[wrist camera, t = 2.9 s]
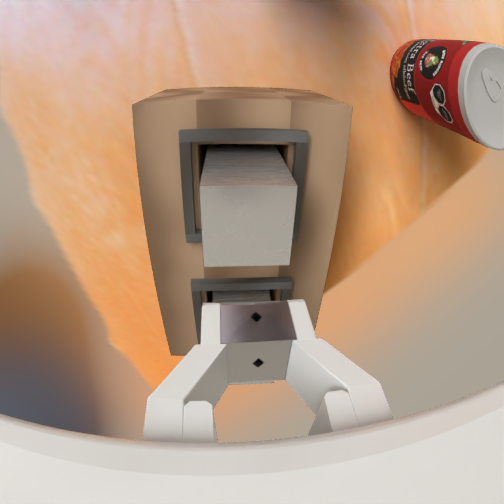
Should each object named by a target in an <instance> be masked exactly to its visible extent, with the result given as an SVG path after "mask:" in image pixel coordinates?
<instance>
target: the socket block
mask: <svg viewBox="0 0 504 504" xmlns="http://www.w3.org/2000/svg"><path fill="white" fill-rule="evenodd" d="M352 109H353V107H352V106H350V105H347V104H345V103H342V102H340V101H337V100H335V99H332V98H329V97H327V96H324V95H321V94H318V93H316V92H313V91H310V90H298V89H282V88H259V87H209V88H185V89H170V90H164V91H162V92H159V93H157V94H155V95H152V96H150V97H148V98H146V99H144V100H141V101H139V102H137V103H135V104H133V105H132V111H133V125H134V138H135V149H136V159H137V169H138V178H139V186H140V194H141V202H142V209H143V216H144V223H145V229H146V236H147V242H148V248H149V254H150V259H151V265H152V270H153V276H154V281H155V286H156V291H157V296H158V301H159V306H160V310H161V315H162V319H163V324H164V328H165V332H166V337H167V341H168V345H169V349H170V353H171V355H175V356H186V355H187V354H188V352H189V351H190V350H191V349H192V348H193V347H194V346H195V345H199V344H201V319H202V305H203V303H212V301H213V291H233V290H269V293H270V298H271V301H285V300H286V301H287V300H296V299H303V300H304V301H305V303H306V306H307V309H308V312H309V315H310V318H311V321H312V325H313V328H314V331H315V327H316V323H317V319H318V314H319V310H320V305H321V301H322V296H323V292H324V287H325V282H326V277H327V272H328V267H329V262H330V257H331V252H332V247H333V241H334V236H335V230H336V224H337V219H338V213H339V207H340V200H341V194H342V187H343V181H344V174H345V167H346V160H347V152H348V144H349V136H350V128H351V119H352ZM208 144H275V146H276V148H277V150H278V151H279V153H280V155H281V157H282V159H283V160H284V162H285V164H286V166H287V168H288V169H289V171H290V173H291V175H292V177H293V179H294V180H295V182H296V184H297V197H296V207H295V217H294V227H293V236H292V246H291V255H290V264H289V265H273V266H224V267H204V257H203V242H202V225H201V207H200V182H201V177H202V172H203V167H204V162H205V158H206V153H207V148H208Z"/></svg>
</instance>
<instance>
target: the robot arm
mask: <svg viewBox="0 0 504 504" xmlns="http://www.w3.org/2000/svg"><path fill="white" fill-rule="evenodd" d="M220 308H221V310H220ZM267 380H285V381H286V382H287V383H288V385H289V386H290V387H291V388H292V389H293V390H294V391H295V392H296V393H297V395H298V396H299V397H300V398H301V399H302V400H303V401H304V402H305V403H306V404H307V405H308V407H309V408H310V409H311V410H312V411H313V412H314V413H315V414H316V418H315V420H314V423H313V425H312V427H311V429H310V432H309V434H308V436H302V437H294V438H285V439H275V440H264V441H249V442H228V443H218V439H217V433H216V427H215V420H214V413H213V409H214V407H215V406H216V404H217V402H218V401H219V400H220V398H221V396H222V395H223V393H224V392H225V390H226V388H227V387H228V385H229V383H235V382H249V381H267ZM0 504H504V381H502V382H499V383H497V384H495V385H493V386H490V387H488V388H485V389H483V390H481V391H478V392H476V393H473V394H470V395H468V396H465V397H463V398H460V399H457V400H454V401H452V402H449V403H446V404H443V405H440V406H437V407H434V408H430V409H428V410H424V411H421V412H418V413H414V414H410V415H407V416H403V417H400V418H396V419H393V416H392V414H391V411H390V408H389V405H388V403H387V400H386V398H385V395H384V393H383V390H382V387H381V385H380V383H379V382H378V381H377V380H375V379H374V378H373V377H372V376H370V375H369V374H368V373H366V372H365V371H364V370H362V369H361V368H360V367H358V366H357V365H356V364H354V363H353V362H352V361H350V360H349V359H348V358H347V357H345V356H344V355H343V354H342V353H340V352H339V351H338V350H336V349H335V348H334V347H333V346H331V345H330V344H329V343H327V342H326V341H325V340H323V339H322V338H317V337H316V334H315V331H314V328H313V325H312V321H311V318H310V315H309V312H308V309H307V306H306V303H305V301H304V300H303V299H296V300H287V301H286V300H285V301H266V302H221V303H203V305H202V319H201V344H199V345H195V346H194V347H193V348H192V349H191V350H190V351H189V352H188V354H187V355H186V356H185V357H184V358H183V359H182V360H181V361H180V363H179V364H178V365H177V366H176V367H175V368H174V369H173V370H172V372H171V373H170V374H169V375H168V376H167V377H166V378H165V379H164V381H163V382H162V383H161V384H160V385H159V386H158V387H157V388H156V390H155V391H154V392H153V393H152V394H151V395H150V396H149V397H148V399H147V407H146V415H145V423H144V432H143V441H142V440H130V439H121V438H113V437H105V436H98V435H91V434H84V433H79V432H72V431H67V430H62V429H58V428H53V427H48V426H44V425H39V424H35V423H31V422H27V421H23V420H19V419H16V418H13V417H9V416H6V415H2V414H0Z"/></svg>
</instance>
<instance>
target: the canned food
mask: <svg viewBox="0 0 504 504" xmlns="http://www.w3.org/2000/svg"><path fill="white" fill-rule="evenodd" d="M390 79H391V84H392V87H393V90H394V92H395V94H396V95H397V97H398V99H399V100H400V101H401V102H402V104H403V105H404V106H405V107H406V108H407V109H408V110H409V111H411V112H412V113H414V114H415V115H418V116H420V117H423V118H425V119H427V120H430V121H432V122H434V123H437V124H439V125H441V126H443V127H446V128H448V129H450V130H452V131H454V132H457V133H459V134H461V135H463V136H465V137H467V138H469V139H471V140H473V141H475V142H477V143H479V144H481V145H483V146H485V147H487V148H491V149H494V150H504V48H503V47H501V46H499V45H495V44H491V43H483V42H476V41H462V40H433V39H418V40H412V41H409V42H407V43H405V44H404V45H402V46H401V47H400V48H399V49H398V50H397V51H396V53H395V54H394V56H393V58H392V61H391V66H390Z"/></svg>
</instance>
